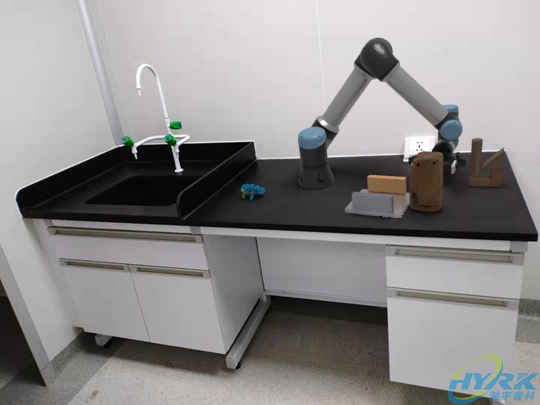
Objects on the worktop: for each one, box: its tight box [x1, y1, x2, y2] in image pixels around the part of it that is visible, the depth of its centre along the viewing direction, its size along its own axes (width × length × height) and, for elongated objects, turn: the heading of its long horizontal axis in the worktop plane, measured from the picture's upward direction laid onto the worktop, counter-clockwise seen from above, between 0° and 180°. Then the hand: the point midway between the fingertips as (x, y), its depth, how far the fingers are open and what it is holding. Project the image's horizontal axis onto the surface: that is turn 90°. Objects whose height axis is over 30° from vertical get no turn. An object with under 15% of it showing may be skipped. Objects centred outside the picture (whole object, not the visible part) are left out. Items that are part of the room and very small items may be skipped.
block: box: [408, 150, 444, 213], centre depth 141 cm, size 11×8×20 cm
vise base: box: [344, 188, 410, 219], centre depth 152 cm, size 20×19×8 cm
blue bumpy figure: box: [240, 183, 266, 201], centre depth 175 cm, size 11×6×10 cm
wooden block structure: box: [468, 137, 505, 188], centre depth 152 cm, size 4×11×18 cm, turn 67°
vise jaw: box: [366, 174, 407, 194], centre depth 158 cm, size 14×2×6 cm, turn 59°
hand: (431, 169), depth 148 cm, fingers open, 13 cm apart
